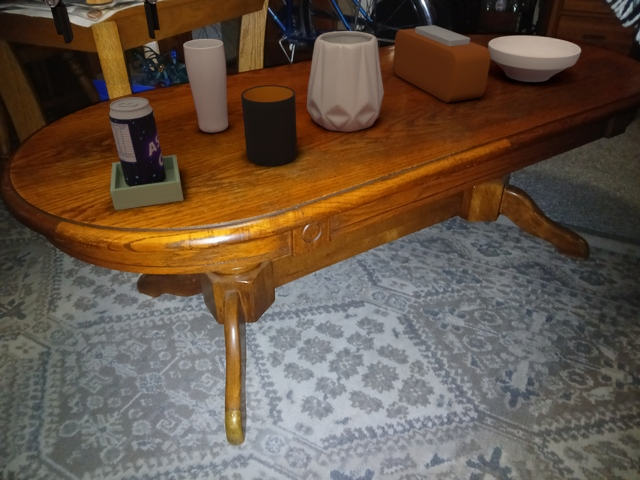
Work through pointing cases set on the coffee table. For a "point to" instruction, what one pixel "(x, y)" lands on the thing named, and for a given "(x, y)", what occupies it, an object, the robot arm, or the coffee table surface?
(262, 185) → the coffee table surface
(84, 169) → the coffee table surface
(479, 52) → the brown rounded block
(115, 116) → the beverage can
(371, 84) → the vase
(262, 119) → the mug
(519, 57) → the bowl
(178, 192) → the tray
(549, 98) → the coffee table surface
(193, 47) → the drinking glass
